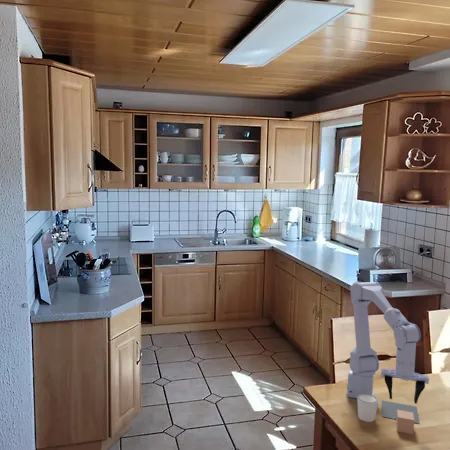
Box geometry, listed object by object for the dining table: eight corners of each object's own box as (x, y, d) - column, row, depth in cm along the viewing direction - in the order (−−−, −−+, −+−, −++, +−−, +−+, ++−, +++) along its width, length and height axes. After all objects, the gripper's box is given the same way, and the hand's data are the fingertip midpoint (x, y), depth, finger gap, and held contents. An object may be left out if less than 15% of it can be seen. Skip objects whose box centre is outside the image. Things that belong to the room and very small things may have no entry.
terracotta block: (396, 431, 142) (397, 417, 142) (396, 423, 147) (397, 409, 146) (413, 434, 140) (414, 420, 140) (412, 426, 145) (413, 412, 145)
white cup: (376, 424, 146) (377, 404, 145) (355, 420, 148) (356, 401, 147) (377, 414, 152) (378, 395, 151) (356, 410, 154) (357, 392, 154)
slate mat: (382, 416, 151) (382, 416, 151) (381, 400, 162) (381, 400, 162) (419, 423, 147) (419, 423, 147) (416, 407, 158) (416, 406, 158)
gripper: (382, 361, 141) (380, 401, 142) (430, 369, 136) (428, 409, 138) (382, 354, 148) (379, 392, 149) (428, 360, 143) (425, 399, 144)
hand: (402, 400), depth 144 cm, fingers open, 7 cm apart
